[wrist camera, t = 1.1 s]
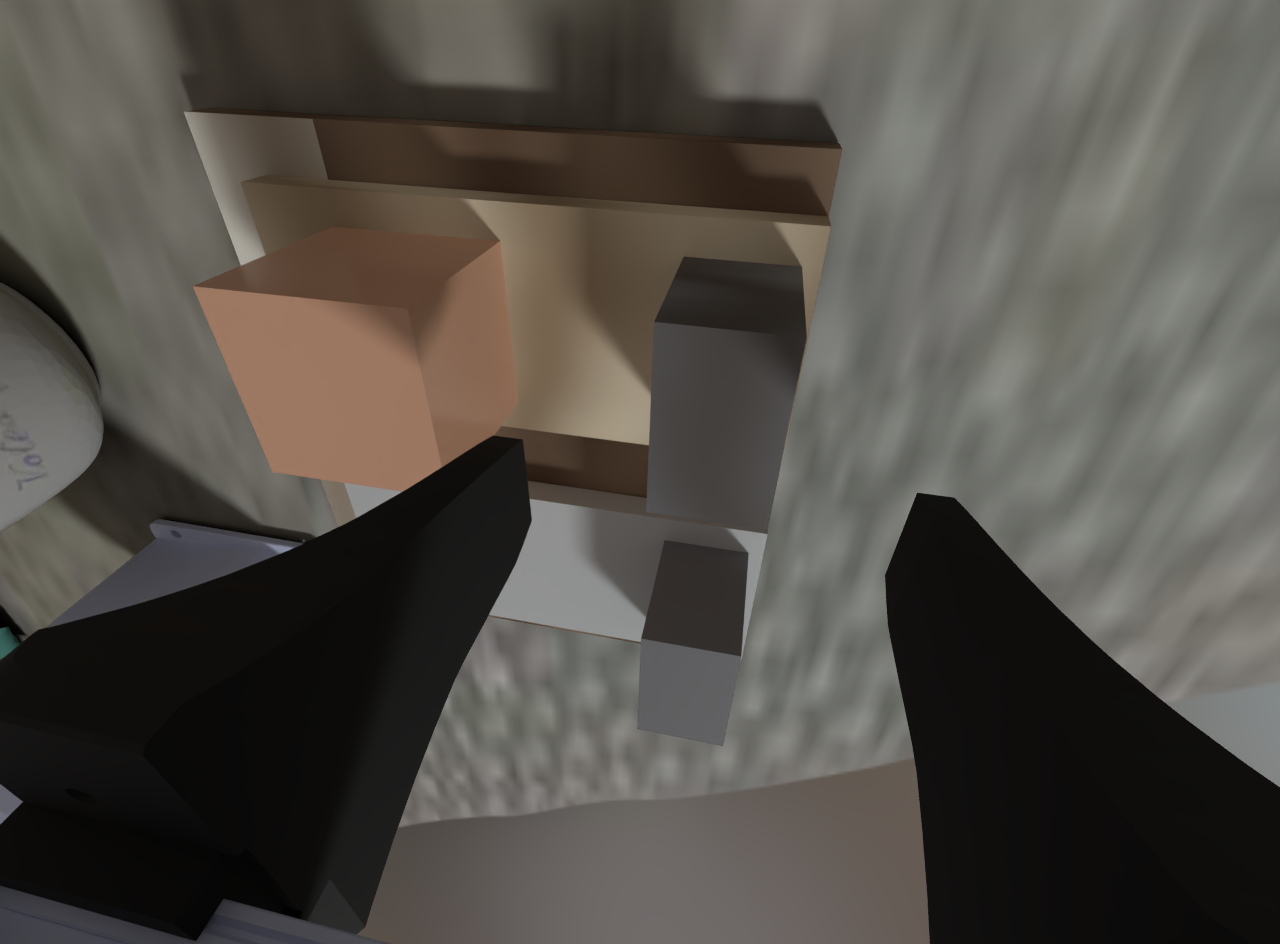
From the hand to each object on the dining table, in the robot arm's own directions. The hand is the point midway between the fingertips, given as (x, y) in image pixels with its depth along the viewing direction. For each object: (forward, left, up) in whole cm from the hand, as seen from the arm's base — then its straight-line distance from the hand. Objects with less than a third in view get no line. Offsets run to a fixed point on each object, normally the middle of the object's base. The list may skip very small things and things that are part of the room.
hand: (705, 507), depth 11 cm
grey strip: (-6, -10, -8) cm, 14 cm away
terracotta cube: (-9, 0, -7) cm, 11 cm away
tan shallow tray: (-6, 0, -8) cm, 10 cm away
